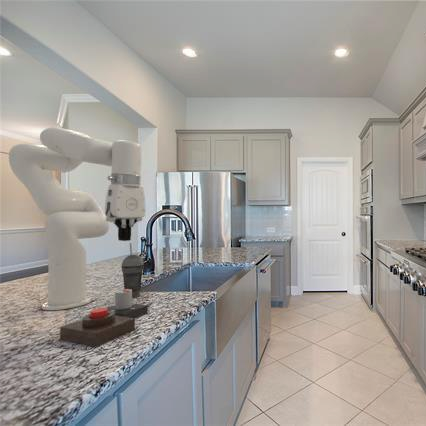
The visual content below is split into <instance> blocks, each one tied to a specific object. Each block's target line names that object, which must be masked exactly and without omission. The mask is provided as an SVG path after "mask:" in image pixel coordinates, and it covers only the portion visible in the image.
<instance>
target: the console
mask: <svg viewBox="0 0 426 426" xmlns="http://www.w3.org/2000/svg"><path fill="white" fill-rule="evenodd" d="M106 308H108V311H113V312H115V315H116V316H123V317H129V318H135V319H136V318H138V317H141V316H144V315H146V314H148V313H149V305H148V304H142V303H137V302H134V303H133V302H132V307H130V308H127V309H122V310H117V309H115V304H114V305H110V306H107V307H106Z"/></svg>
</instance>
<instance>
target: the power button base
mask: <svg viewBox="0 0 426 426" xmlns="http://www.w3.org/2000/svg"><path fill="white" fill-rule="evenodd" d="M135 324H136V318H129V317H123V316H116V315H115V312H113V311H108V315H107V316H105V317H100V318H90V313H88V314H86V315H84V316H82V318H81V319H80V320H77V321H74V322H72V323H68V324H65V325H62V326H59V340H60V341H63V342H64V341H65V342H68V343H74V344H79V345H85V346H89V347H95V348H96V347H99V346H100V345H103V344H106V343H107V342H110V341H111V340H115V339H117V338H119V337H121V336H125V335H126V334H129V333H131V332H134V331H135V330H136V325H135Z"/></svg>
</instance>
